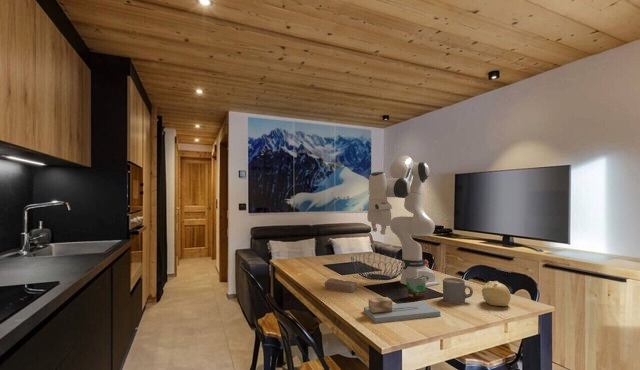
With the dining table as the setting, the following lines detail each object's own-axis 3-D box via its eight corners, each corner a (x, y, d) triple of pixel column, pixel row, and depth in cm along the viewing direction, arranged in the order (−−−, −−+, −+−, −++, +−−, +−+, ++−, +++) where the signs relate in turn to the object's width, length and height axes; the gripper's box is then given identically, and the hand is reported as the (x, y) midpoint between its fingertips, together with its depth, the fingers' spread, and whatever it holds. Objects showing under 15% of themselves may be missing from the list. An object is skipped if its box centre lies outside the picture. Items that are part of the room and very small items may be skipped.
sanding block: (387, 308, 140) (387, 296, 140) (392, 312, 136) (392, 300, 136) (368, 310, 138) (368, 298, 138) (372, 314, 134) (372, 302, 134)
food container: (414, 301, 155) (414, 280, 156) (405, 297, 161) (405, 277, 161) (432, 297, 161) (432, 277, 161) (423, 293, 167) (423, 274, 167)
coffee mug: (441, 301, 154) (440, 281, 155) (445, 296, 163) (445, 276, 163) (471, 306, 147) (470, 285, 147) (474, 300, 155) (473, 280, 156)
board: (423, 305, 149) (423, 301, 149) (440, 316, 136) (440, 311, 136) (363, 311, 142) (363, 306, 142) (375, 322, 129) (375, 317, 129)
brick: (357, 289, 176) (357, 280, 176) (352, 293, 168) (352, 284, 168) (330, 285, 183) (330, 277, 183) (324, 289, 175) (324, 281, 175)
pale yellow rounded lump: (483, 298, 159) (483, 277, 159) (511, 303, 152) (511, 280, 152) (480, 305, 149) (479, 282, 150) (509, 310, 142) (509, 286, 143)
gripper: (364, 203, 165) (364, 230, 165) (380, 206, 145) (381, 236, 145) (375, 203, 166) (375, 229, 166) (393, 205, 147) (394, 235, 147)
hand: (378, 232), depth 156 cm, fingers open, 8 cm apart
